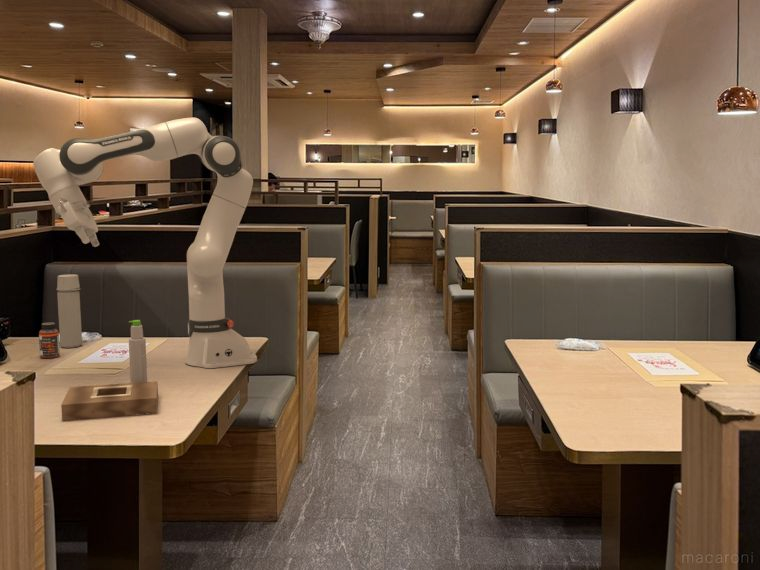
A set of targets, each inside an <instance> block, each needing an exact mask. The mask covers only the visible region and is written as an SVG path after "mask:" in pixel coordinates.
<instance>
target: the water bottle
mask: <svg viewBox="0 0 760 570" xmlns="http://www.w3.org/2000/svg"><path fill="white" fill-rule="evenodd" d="M56 284H57V286H56V288H55V290H56V291H57V293H56V294H57V312H58V313H57V314H58V315H57V316H58V328H59V330H58V332H59V347H61V348H64V349H74V348H78V347H81V346H82V345H83V334H82V333H83V332H82V331H83V329H82V316H81V315H82V314H81V313H82V312H81V298H80V290H81V289H82V288H80V287H81V286H80V280H79V275H78V274H74V273H73V274H69V273H68V274H60V275H57V283H56Z"/></svg>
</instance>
